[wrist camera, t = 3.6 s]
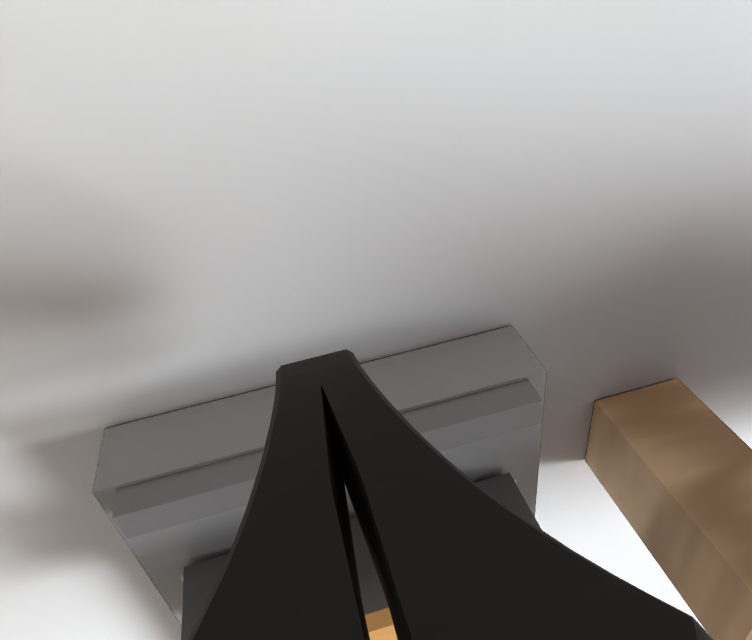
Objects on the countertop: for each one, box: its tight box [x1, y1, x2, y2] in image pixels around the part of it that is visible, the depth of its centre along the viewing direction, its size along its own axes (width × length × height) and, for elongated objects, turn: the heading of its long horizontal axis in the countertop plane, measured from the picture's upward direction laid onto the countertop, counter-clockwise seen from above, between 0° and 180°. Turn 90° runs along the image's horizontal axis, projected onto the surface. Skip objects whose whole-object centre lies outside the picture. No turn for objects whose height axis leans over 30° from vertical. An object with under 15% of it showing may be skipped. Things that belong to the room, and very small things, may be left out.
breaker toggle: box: [181, 472, 541, 640], centre depth 15 cm, size 9×2×3 cm, turn 97°
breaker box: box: [92, 326, 547, 626], centre depth 18 cm, size 11×15×3 cm
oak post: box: [585, 378, 752, 640], centre depth 17 cm, size 3×3×7 cm
